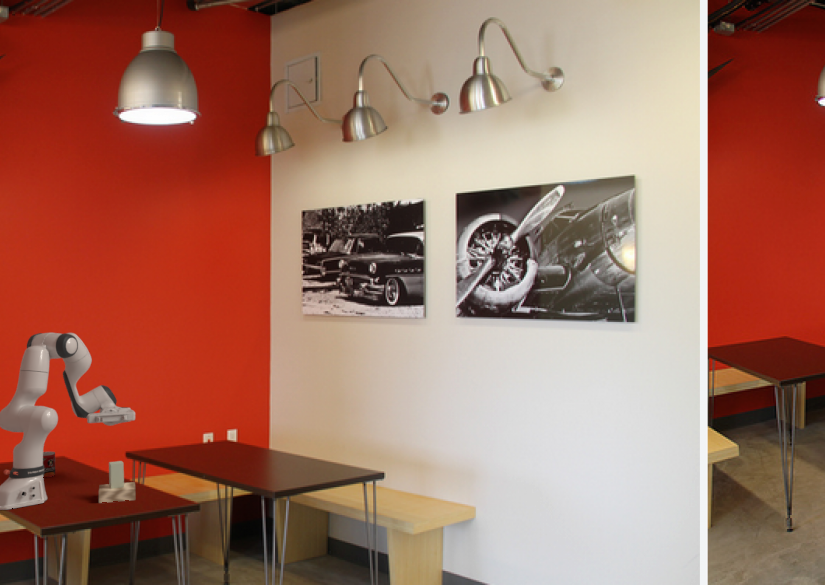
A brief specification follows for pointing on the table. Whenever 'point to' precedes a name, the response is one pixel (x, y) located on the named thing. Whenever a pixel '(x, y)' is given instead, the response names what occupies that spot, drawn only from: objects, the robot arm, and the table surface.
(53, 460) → the canned food
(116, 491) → the birch slab
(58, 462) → the table surface
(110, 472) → the sage block
